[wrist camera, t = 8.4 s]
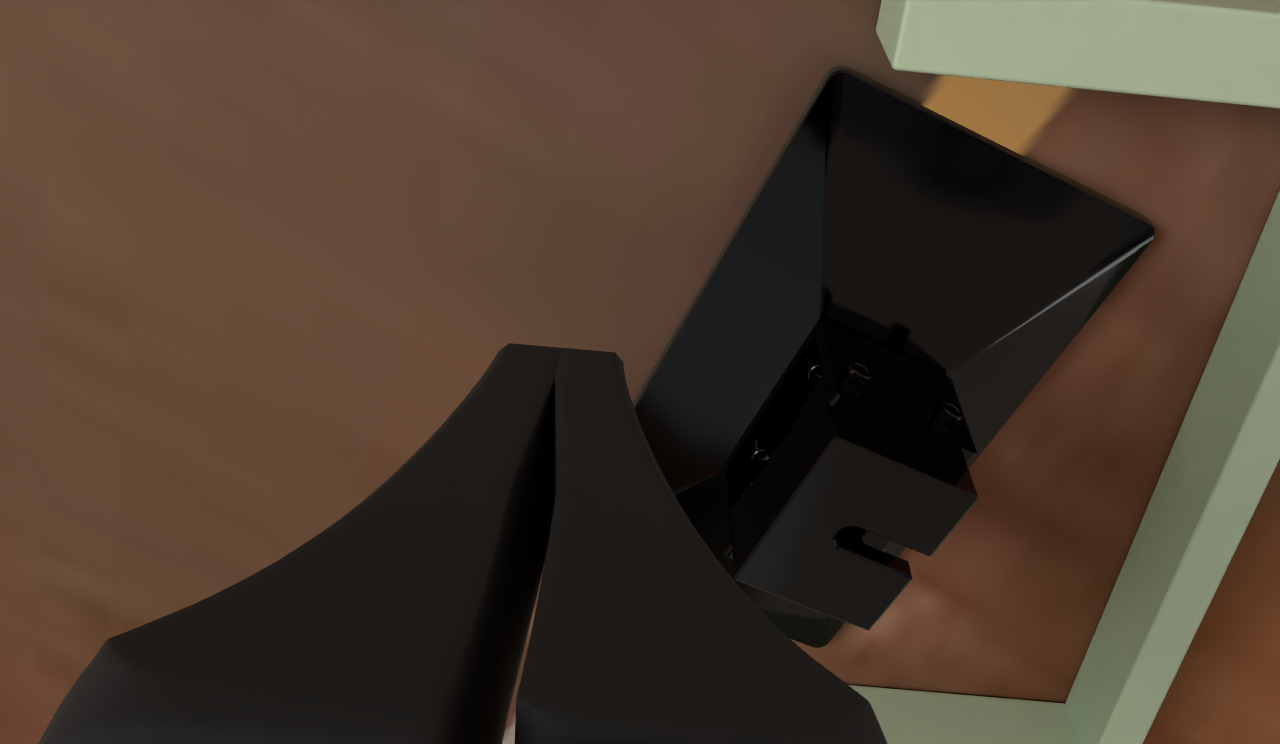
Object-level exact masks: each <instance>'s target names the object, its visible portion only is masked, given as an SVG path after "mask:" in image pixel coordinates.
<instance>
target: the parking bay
mask: <svg viewBox="0 0 1280 744" xmlns="http://www.w3.org/2000/svg"><path fill="white" fill-rule="evenodd" d="M876 32H877V35H878V37H879V40H880V42H881V44H882V46H883V48H884V50H885V53H886V55H887V57H888V59H889V61H890V63H891V66H892V68H893V69H895V70H900V71H910V72H920V73H930V74H940V75H950V76H960V77H970V78H981V79H990V80H1000V81H1010V82H1020V83H1030V84H1040V85H1050V86H1060V87H1070V88H1080V89H1090V90H1100V91H1110V92H1120V93H1130V94H1140V95H1150V96H1160V97H1170V98H1180V99H1190V100H1200V101H1210V102H1220V103H1230V104H1240V105H1250V106H1260V107H1270V108H1280V0H882V2H881V7H880V12H879V17H878V22H877V27H876ZM1279 459H1280V191H1279V193H1278V195H1277V198H1276V200H1275V203H1274V205H1273V207H1272V210H1271V212H1270V215H1269V217H1268V219H1267V222H1266V224H1265V227H1264V229H1263V231H1262V234H1261V236H1260V239H1259V241H1258V243H1257V246H1256V248H1255V251H1254V253H1253V255H1252V258H1251V260H1250V262H1249V265H1248V267H1247V270H1246V272H1245V274H1244V277H1243V279H1242V282H1241V284H1240V286H1239V289H1238V291H1237V294H1236V296H1235V298H1234V301H1233V303H1232V306H1231V308H1230V310H1229V313H1228V315H1227V318H1226V320H1225V322H1224V325H1223V327H1222V330H1221V332H1220V334H1219V337H1218V339H1217V341H1216V344H1215V346H1214V349H1213V351H1212V353H1211V356H1210V358H1209V361H1208V363H1207V365H1206V368H1205V370H1204V373H1203V375H1202V377H1201V380H1200V382H1199V385H1198V387H1197V389H1196V392H1195V394H1194V397H1193V399H1192V401H1191V404H1190V406H1189V408H1188V411H1187V413H1186V416H1185V418H1184V420H1183V423H1182V425H1181V428H1180V430H1179V432H1178V435H1177V437H1176V440H1175V442H1174V444H1173V447H1172V449H1171V452H1170V454H1169V456H1168V459H1167V461H1166V464H1165V466H1164V468H1163V471H1162V473H1161V475H1160V478H1159V480H1158V483H1157V485H1156V487H1155V490H1154V492H1153V495H1152V497H1151V499H1150V502H1149V504H1148V507H1147V509H1146V511H1145V514H1144V516H1143V519H1142V521H1141V523H1140V526H1139V528H1138V531H1137V533H1136V535H1135V538H1134V540H1133V543H1132V545H1131V547H1130V550H1129V552H1128V554H1127V557H1126V559H1125V562H1124V564H1123V566H1122V569H1121V571H1120V574H1119V576H1118V578H1117V581H1116V583H1115V586H1114V588H1113V590H1112V593H1111V595H1110V598H1109V600H1108V602H1107V605H1106V607H1105V610H1104V612H1103V614H1102V617H1101V619H1100V621H1099V624H1098V626H1097V629H1096V631H1095V633H1094V636H1093V638H1092V641H1091V643H1090V645H1089V648H1088V650H1087V653H1086V655H1085V657H1084V660H1083V662H1082V665H1081V667H1080V669H1079V672H1078V674H1077V677H1076V679H1075V681H1074V684H1073V686H1072V688H1071V691H1070V693H1069V696H1068V698H1067V700H1066V703H1055V702H1043V701H1031V700H1020V699H1008V698H996V697H984V696H973V695H961V694H949V693H937V692H926V691H914V690H902V689H891V688H879V687H867V686H855V685H849V686H850V687H851V688H853V689H854V690H855V691H857V692H858V693H859V694H861V695H862V696H863V697H865V698H866V699H867V700H868V701H869V703H870V704H871V706H872V708H873V710H874V713H875V715H876V717H877V720H878V722H879V724H880V727H881V729H882V731H883V734H884V736H885V739H886V741H887V744H1142V743H1143V741H1144V739H1145V737H1146V735H1147V733H1148V731H1149V729H1150V727H1151V725H1152V723H1153V721H1154V719H1155V716H1156V714H1157V712H1158V710H1159V708H1160V706H1161V704H1162V702H1163V700H1164V698H1165V696H1166V694H1167V692H1168V690H1169V687H1170V685H1171V683H1172V681H1173V679H1174V677H1175V675H1176V673H1177V671H1178V669H1179V667H1180V665H1181V663H1182V660H1183V658H1184V656H1185V654H1186V652H1187V650H1188V648H1189V646H1190V644H1191V642H1192V640H1193V638H1194V636H1195V633H1196V631H1197V629H1198V627H1199V625H1200V623H1201V621H1202V619H1203V617H1204V615H1205V613H1206V611H1207V609H1208V607H1209V604H1210V602H1211V600H1212V598H1213V596H1214V594H1215V592H1216V590H1217V588H1218V586H1219V584H1220V582H1221V580H1222V577H1223V575H1224V573H1225V571H1226V569H1227V567H1228V565H1229V563H1230V561H1231V559H1232V557H1233V555H1234V553H1235V551H1236V548H1237V546H1238V544H1239V542H1240V540H1241V538H1242V536H1243V534H1244V532H1245V530H1246V528H1247V526H1248V524H1249V521H1250V519H1251V517H1252V515H1253V513H1254V511H1255V509H1256V507H1257V505H1258V503H1259V501H1260V499H1261V497H1262V494H1263V492H1264V490H1265V488H1266V486H1267V484H1268V482H1269V480H1270V478H1271V476H1272V474H1273V472H1274V470H1275V468H1276V465H1277V463H1278V461H1279Z"/></svg>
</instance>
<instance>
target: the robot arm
mask: <svg viewBox="0 0 1280 744" xmlns="http://www.w3.org/2000/svg"><path fill="white" fill-rule="evenodd" d="M544 563H545V564H544ZM543 567H544V570H543ZM542 571H543V575H542ZM541 575H542V581H541V587H540V592H539V597H538V602H537V607H536V612H535V617H534V622H533V627H532V632H531V637H530V642H529V646H528V651H527V655H526V660H525V664H524V669H523V673H522V678H521V682H520V686H519V690H518V694H517V701H516V725H515V744H887V741H886V739H885V736H884V734H883V731H882V729H881V727H880V724H879V722H878V720H877V717H876V715H875V713H874V710H873V708H872V706H871V704H870V703H869V701H868V700H867V699H866V698H865V697H863V696H862V695H861V694H859V693H858V692H857V691H855V690H854V689H853V688H851V687H850V686H849V685H847V684H846V683H845V682H843V681H842V680H841V679H839V678H838V677H837V676H835V675H834V674H833V673H831V672H830V671H829V670H827V669H826V668H825V667H823V666H822V665H821V664H819V663H818V662H817V661H815V660H814V659H813V658H811V657H810V656H809V655H808V654H807V653H805V652H804V651H803V650H802V649H801V648H800V647H798V646H797V645H796V644H795V643H794V642H793V641H792V640H791V639H790V638H789V637H787V636H786V635H785V634H784V633H783V632H782V631H781V630H780V629H779V628H777V627H776V626H775V625H774V624H773V622H772V621H771V620H770V619H769V618H768V617H767V616H766V615H765V614H764V613H763V612H762V611H761V610H760V609H759V608H758V606H757V605H756V604H755V603H754V602H753V601H752V600H751V599H750V598H749V597H748V596H747V595H746V594H745V593H744V592H743V590H742V589H741V588H740V587H739V586H738V585H737V584H736V583H735V581H734V580H733V579H732V578H731V576H730V575H729V574H728V573H727V571H726V570H725V569H724V568H723V566H722V565H721V564H720V563H719V561H718V560H717V559H716V557H715V556H714V555H713V553H712V552H711V551H710V549H709V548H708V546H707V545H706V544H705V542H704V541H703V539H702V538H701V537H700V535H699V534H698V532H697V531H696V529H695V528H694V526H693V525H692V523H691V522H690V520H689V519H688V517H687V515H686V514H685V512H684V510H683V509H682V507H681V506H680V504H679V502H678V500H677V499H676V497H675V495H674V493H673V492H672V490H671V488H670V486H669V484H668V483H667V481H666V479H665V477H664V475H663V473H662V471H661V469H660V467H659V465H658V463H657V461H656V459H655V457H654V455H653V453H652V450H651V448H650V446H649V444H648V442H647V439H646V437H645V435H644V433H643V430H642V428H641V425H640V423H639V421H638V418H637V415H636V412H635V409H634V407H633V404H632V401H631V398H630V395H629V391H628V388H627V384H626V380H625V374H624V367H623V361H622V360H621V359H620V358H619V357H618V356H617V355H616V353H614V352H603V351H591V350H580V349H568V348H557V347H545V346H534V345H522V344H511V343H509V344H508V345H507V346H505V347H504V348H503V349H501V350H500V351H499V352H498V354H497V355H496V357H495V359H494V360H493V362H492V363H491V365H490V366H489V367H488V369H487V370H486V372H485V373H484V374H483V376H482V377H481V379H480V380H479V381H478V382H477V384H476V385H475V386H474V388H473V389H472V390H471V391H470V393H469V394H468V395H467V396H466V398H465V399H464V400H463V401H462V403H461V404H460V405H459V406H458V407H457V408H456V410H455V411H454V412H453V413H452V414H451V415H450V416H449V418H448V419H447V420H446V421H445V422H444V423H443V424H442V426H441V427H440V428H439V429H438V430H437V431H436V432H435V433H434V435H433V436H432V437H431V438H430V439H429V440H428V441H427V442H426V443H425V444H424V445H423V446H422V447H421V448H420V449H419V450H418V451H417V452H416V453H415V454H414V455H413V456H412V457H411V458H410V459H409V460H408V461H407V462H406V463H405V464H404V465H403V466H402V467H401V468H400V469H399V470H398V471H396V472H395V473H394V474H393V475H392V476H391V477H390V478H389V479H388V480H387V481H386V482H385V483H383V484H382V485H381V486H380V487H379V488H378V489H377V490H376V491H374V492H373V493H372V494H371V495H370V496H368V497H367V498H366V499H365V500H364V501H362V502H361V503H360V504H359V505H357V506H356V507H355V508H354V509H352V510H351V511H350V512H349V513H347V514H346V515H345V516H343V517H342V518H341V519H340V520H338V521H337V522H336V523H334V524H333V525H331V526H330V527H329V528H327V529H326V530H324V531H323V532H321V533H320V534H318V535H317V536H316V537H314V538H313V539H311V540H310V541H308V542H306V543H305V544H303V545H302V546H300V547H299V548H297V549H296V550H294V551H293V552H291V553H289V554H288V555H286V556H285V557H283V558H282V559H280V560H278V561H277V562H275V563H273V564H272V565H270V566H268V567H266V568H264V569H262V570H261V571H259V572H257V573H255V574H253V575H252V576H250V577H248V578H246V579H244V580H242V581H240V582H238V583H236V584H234V585H232V586H230V587H228V588H226V589H224V590H222V591H220V592H218V593H216V594H214V595H213V596H210V597H208V598H206V599H204V600H202V601H200V602H198V603H195V604H193V605H191V606H189V607H186V608H184V609H181V610H179V611H177V612H174V613H172V614H169V615H167V616H164V617H162V618H160V619H157V620H155V621H152V622H150V623H147V624H145V625H143V626H140V627H138V628H135V629H133V630H130V631H128V632H125V633H123V634H120V635H117V636H114V637H112V638H109V639H108V640H107V641H106V642H105V643H104V645H103V646H102V647H101V649H100V650H99V652H98V653H97V654H96V656H95V657H94V659H93V660H92V661H91V663H90V664H89V665H88V667H87V668H86V669H85V670H84V672H83V673H82V674H81V675H80V677H79V678H78V680H77V681H76V682H75V684H74V685H73V687H72V688H71V690H70V691H69V693H68V694H67V695H66V697H65V698H64V700H63V701H62V703H61V704H60V706H59V708H58V709H57V711H56V713H55V715H54V717H53V718H52V720H51V722H50V724H49V726H48V727H47V729H46V731H45V733H44V734H43V736H42V738H41V740H40V742H39V743H38V744H502V741H503V736H504V731H505V726H506V720H507V716H508V711H509V707H510V703H511V699H512V695H513V691H514V687H515V683H516V679H517V674H518V670H519V666H520V662H521V658H522V654H523V650H524V646H525V642H526V638H527V633H528V629H529V625H530V621H531V617H532V613H533V609H534V605H535V600H536V596H537V592H538V588H539V584H540V580H541Z"/></svg>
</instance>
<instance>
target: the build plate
mask: <svg viewBox="0 0 1280 744" xmlns="http://www.w3.org/2000/svg"><path fill="white" fill-rule="evenodd" d="M1154 235H1155V230H1154V228H1153V226H1152V225H1151V224H1150V222H1149V221H1148V220H1147V219H1146V218H1145V217H1143V216H1141V215H1139V214H1137V213H1135V212H1133V211H1131V210H1129V209H1127V208H1125V207H1123V206H1121V205H1119V204H1117V203H1115V202H1113V201H1111V200H1109V199H1107V198H1105V197H1103V196H1101V195H1099V194H1097V193H1095V192H1093V191H1091V190H1089V189H1087V188H1085V187H1083V186H1081V185H1079V184H1077V183H1075V182H1073V181H1072V180H1070V179H1068V178H1066V177H1064V176H1062V175H1060V174H1058V173H1056V172H1054V171H1052V170H1050V169H1048V168H1046V167H1044V166H1042V165H1040V164H1038V163H1036V162H1034V161H1032V160H1030V159H1028V158H1026V157H1024V156H1022V155H1020V154H1018V153H1016V152H1014V151H1012V150H1010V149H1008V148H1006V147H1004V146H1002V145H1000V144H997V143H995V142H994V141H992V140H990V139H988V138H986V137H983V136H981V135H980V134H978V133H976V132H974V131H972V130H970V129H968V128H966V127H964V126H962V125H960V124H958V123H956V122H954V121H952V120H949V119H948V118H945V117H944V116H942V115H939V114H937V113H935V112H934V111H932V110H930V109H928V108H926V107H924V106H922V105H920V104H918V103H916V102H914V101H912V100H910V99H908V98H906V97H904V96H902V95H900V94H898V93H896V92H894V91H892V90H890V89H888V88H886V87H884V86H882V85H880V84H878V83H876V82H874V81H872V80H870V79H868V78H866V77H864V76H862V75H860V74H858V73H856V72H854V71H852V70H850V69H848V68H845V67H836V68H833V69H831V70H830V71H829V72H828V73H827V74H826V76H825V78H824V79H823V81H822V83H821V85H820V86H819V88H818V90H817V91H816V93H815V95H814V96H813V98H812V100H811V102H810V103H809V105H808V107H807V108H806V110H805V112H804V114H803V115H802V117H801V119H800V120H799V122H798V124H797V126H796V127H795V129H794V131H793V132H792V134H791V136H790V137H789V139H788V141H787V143H786V144H785V146H784V148H783V149H782V151H781V153H780V155H779V156H778V158H777V160H776V161H775V163H774V165H773V167H772V168H771V170H770V172H769V173H768V175H767V177H766V178H765V180H764V182H763V184H762V185H761V187H760V189H759V190H758V192H757V194H756V196H755V197H754V199H753V201H752V202H751V204H750V206H749V208H748V209H747V211H746V213H745V214H744V216H743V218H742V219H741V221H740V223H739V225H738V226H737V228H736V230H735V231H734V233H733V235H732V237H731V238H730V240H729V242H728V243H727V245H726V247H725V248H724V250H723V252H722V254H721V255H720V257H719V259H718V260H717V262H716V264H715V266H714V267H713V269H712V271H711V272H710V274H709V276H708V278H707V279H706V281H705V283H704V284H703V286H702V288H701V289H700V291H699V293H698V295H697V296H696V298H695V300H694V301H693V303H692V305H691V307H690V308H689V310H688V312H687V313H686V315H685V317H684V319H683V320H682V322H681V324H680V325H679V327H678V329H677V330H676V332H675V334H674V336H673V337H672V339H671V341H670V342H669V344H668V346H667V348H666V349H665V351H664V353H663V354H662V356H661V358H660V360H659V361H658V363H657V365H656V366H655V368H654V370H653V371H652V373H651V375H650V377H649V378H648V380H647V382H646V383H645V385H644V387H643V389H642V390H641V392H640V394H639V395H638V397H637V399H636V400H635V402H634V404H633V407H634V409H635V412H636V415H637V418H638V421H639V423H640V425H641V428H642V430H643V433H644V435H645V437H646V439H647V442H648V444H649V446H650V448H651V450H652V453H653V455H654V457H655V459H656V461H657V463H658V465H659V467H660V469H661V471H662V473H663V475H664V477H665V479H666V481H667V483H668V484H669V486H670V488H671V490H672V492H673V493H674V495H675V497H676V499H677V500H678V502H679V504H680V506H681V507H682V509H683V510H684V512H685V514H686V515H687V517H688V519H689V520H690V522H691V523H692V525H693V526H694V528H695V529H696V531H697V532H698V534H699V535H700V537H701V538H702V539H703V541H704V542H705V544H706V545H707V546H708V548H709V549H710V551H711V552H712V553H713V555H714V556H715V557H716V559H717V560H718V561H719V563H720V564H721V565H722V566H723V568H724V569H725V570H726V571H727V573H728V574H729V575H730V576H731V578H732V579H733V580H734V581H735V583H736V584H737V585H738V586H739V587H740V588H741V589H742V590H743V592H744V593H745V594H746V595H747V596H748V597H749V598H750V599H751V600H752V601H753V602H754V603H755V604H756V605H757V606H758V608H759V609H760V610H761V611H762V612H763V613H764V614H765V615H766V616H767V617H768V618H769V619H770V620H771V621H772V622H773V624H774V625H775V626H776V627H777V628H779V629H780V630H781V631H782V632H783V633H784V634H785V635H786V636H787V637H789V638H790V639H793V640H796V641H798V642H801V643H804V644H806V645H809V646H811V647H815V648H819V647H823V646H825V645H827V644H828V642H829V641H830V640H831V639H832V637H833V636H834V635H835V634H836V632H837V631H838V630H839V629H840V627H841V626H842V625H843V624H844V622H847V623H849V624H852V625H854V626H857V627H860V628H862V629H865V630H870V629H871V628H872V627H873V626H874V625H875V623H876V622H877V621H878V620H879V619H880V617H881V616H882V615H883V614H884V612H885V611H886V610H887V609H888V608H889V606H890V605H891V604H892V603H893V602H894V600H895V599H896V598H897V597H898V596H899V594H900V593H901V592H902V591H903V589H904V588H905V587H906V586H907V585H908V583H909V582H910V581H911V580H912V575H911V571H910V567H909V563H908V561H906V560H903V559H901V558H898V555H899V554H900V553H901V552H902V550H903V549H904V548H905V547H908V548H910V549H913V550H915V551H917V552H920V553H922V554H925V555H927V556H931V555H932V554H933V553H934V552H935V551H936V550H937V548H938V547H939V546H940V545H941V543H942V542H943V541H944V540H945V539H946V537H947V536H948V535H949V534H950V533H951V531H952V530H953V529H954V528H955V527H956V525H957V524H958V523H959V522H960V520H961V519H962V518H963V517H964V516H965V514H966V513H967V512H968V511H969V510H970V508H971V507H972V506H973V505H974V504H975V502H976V501H977V500H978V496H977V493H976V490H975V487H974V484H973V481H972V478H971V475H970V472H969V467H970V466H971V465H972V464H973V462H974V461H975V460H976V459H977V457H978V456H979V455H980V454H981V452H982V451H983V450H984V449H985V447H986V446H987V445H988V444H989V442H990V441H991V440H992V439H993V437H994V436H995V435H996V434H997V433H998V431H999V430H1000V429H1001V428H1002V426H1003V425H1004V424H1005V423H1006V421H1007V420H1008V419H1009V418H1010V416H1011V415H1012V414H1013V413H1014V411H1015V410H1016V409H1017V408H1018V406H1019V405H1020V404H1021V403H1022V401H1023V400H1024V399H1025V398H1026V396H1027V395H1028V394H1029V393H1030V392H1031V390H1032V389H1033V388H1034V387H1035V385H1036V384H1037V383H1038V382H1039V380H1040V379H1041V378H1042V377H1043V375H1044V374H1045V373H1046V372H1047V370H1048V369H1049V368H1050V367H1051V365H1052V364H1053V363H1054V362H1055V360H1056V359H1057V358H1058V357H1059V356H1060V354H1061V353H1062V352H1063V351H1064V349H1065V348H1066V347H1067V346H1068V344H1069V343H1070V342H1071V341H1072V339H1073V338H1074V337H1075V336H1076V334H1077V333H1078V332H1079V331H1080V329H1081V328H1082V327H1083V326H1084V324H1085V323H1086V322H1087V321H1088V320H1089V318H1090V317H1091V316H1092V315H1093V313H1094V312H1095V311H1096V310H1097V308H1098V307H1099V306H1100V305H1101V303H1102V302H1103V301H1104V300H1105V298H1106V297H1107V296H1108V295H1109V293H1110V292H1111V291H1112V290H1113V288H1114V287H1115V286H1116V285H1117V284H1118V282H1119V281H1120V280H1121V279H1122V277H1123V276H1124V275H1125V274H1126V272H1127V271H1128V270H1129V269H1130V267H1131V266H1132V265H1133V264H1134V262H1135V261H1136V260H1137V259H1138V257H1139V256H1140V255H1141V254H1142V252H1143V251H1144V250H1145V249H1146V248H1147V246H1148V245H1149V244H1150V243H1151V241H1152V240H1153V238H1154Z"/></svg>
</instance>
